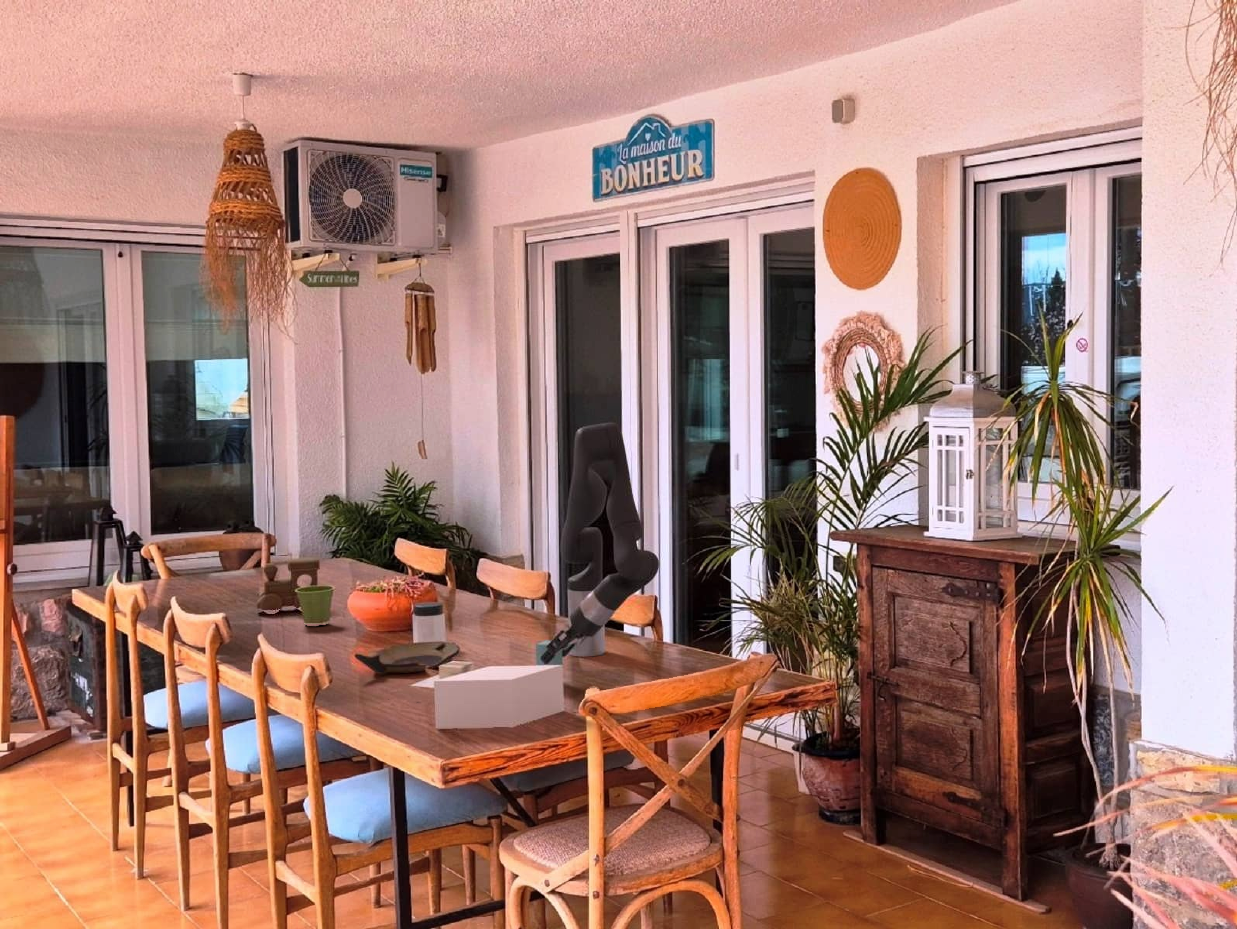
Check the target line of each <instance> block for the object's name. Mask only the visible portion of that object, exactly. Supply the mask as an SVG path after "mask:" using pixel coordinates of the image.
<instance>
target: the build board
mask: <svg viewBox="0 0 1237 929" xmlns="http://www.w3.org/2000/svg"><path fill="white" fill-rule="evenodd" d="M436 680H439V674H437V675H434V676H431V677H429V678H426V679H423V680H421V681H418V682H416V683H412V684H410V685H409V686H410V687H420V688H431V689H434V681H436Z"/></svg>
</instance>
